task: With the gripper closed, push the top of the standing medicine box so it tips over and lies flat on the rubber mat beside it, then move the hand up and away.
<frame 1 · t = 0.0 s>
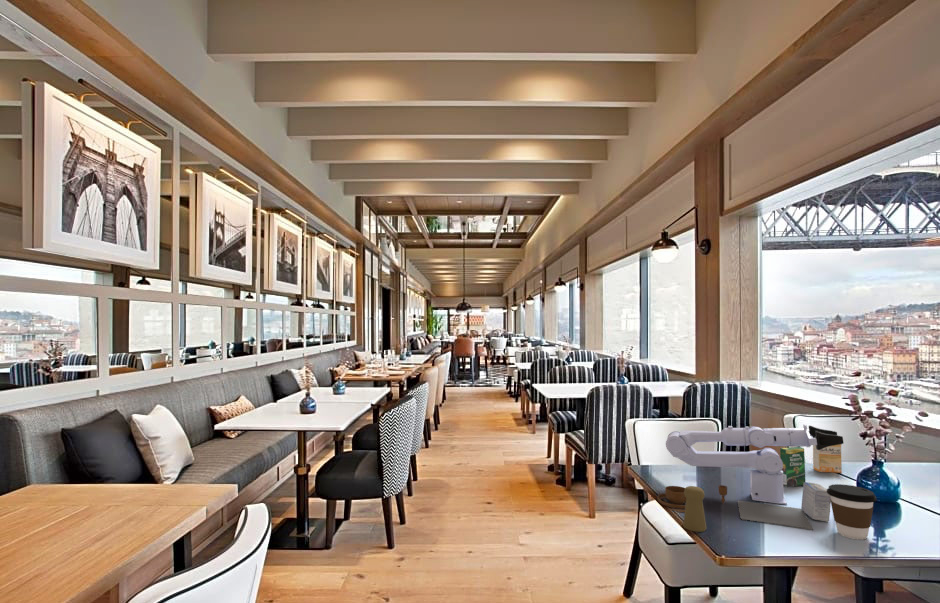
hand: (839, 437, 160), 22 cm above the table, tool horizontal, fingers open, 7 cm apart
coffee cup: (852, 535, 138), on the table
supplement box: (827, 471, 200), on the table
rubber mat: (772, 514, 153), on the table
coffee box: (793, 485, 182), on the table
cork: (694, 528, 143), on the table
medicine box: (814, 516, 151), on the table, touching rubber mat
place setting: (691, 507, 161), on the table
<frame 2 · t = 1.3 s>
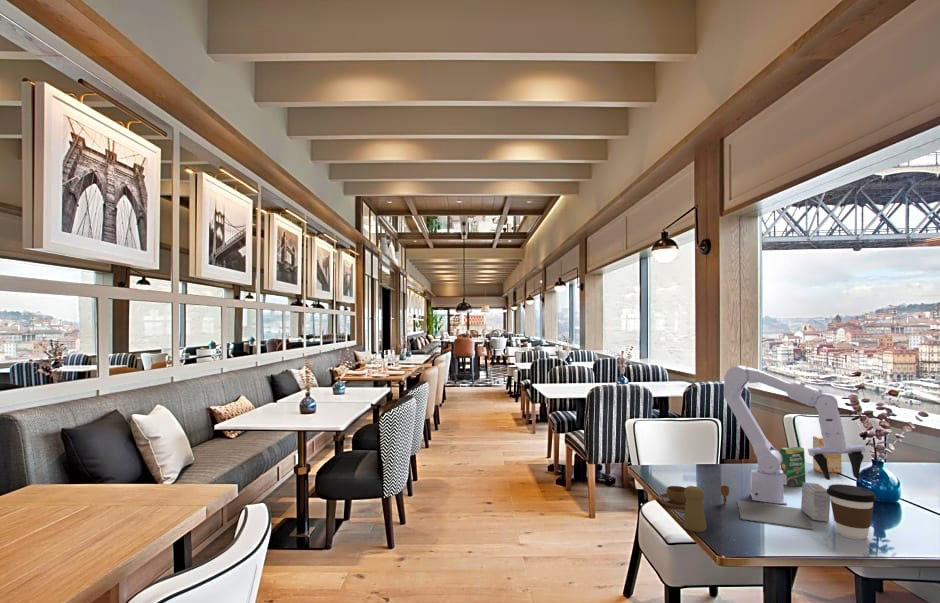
hand: (842, 478, 156), 10 cm above the table, tool pointing down, fingers open, 7 cm apart
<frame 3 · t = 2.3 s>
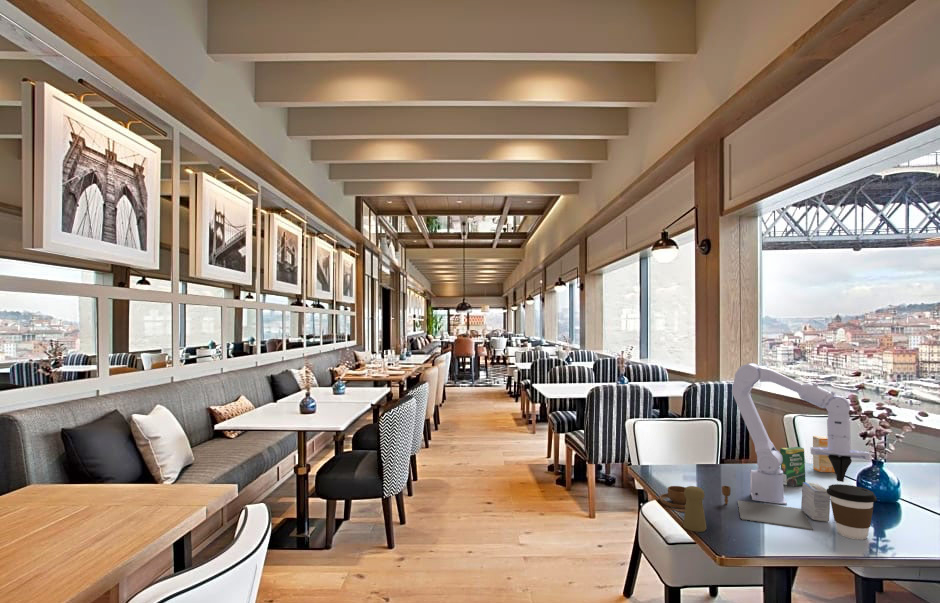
hand: (840, 480, 156), 9 cm above the table, tool pointing down, fingers closed
nothing on the table moved.
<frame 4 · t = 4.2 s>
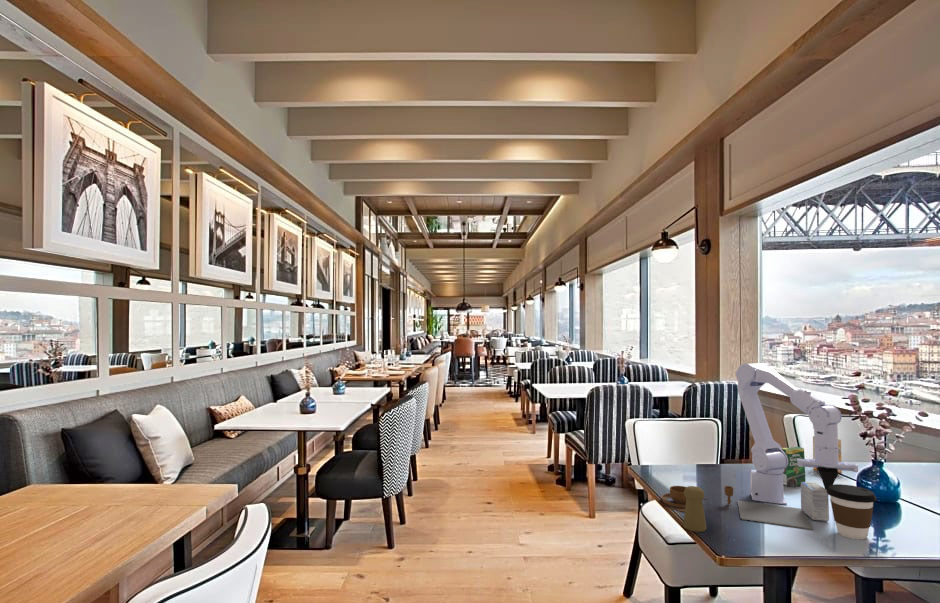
hand: (827, 494, 150), 7 cm above the table, tool pointing down, fingers closed
medicine box: (814, 516, 151), on the table, touching gripper, rubber mat
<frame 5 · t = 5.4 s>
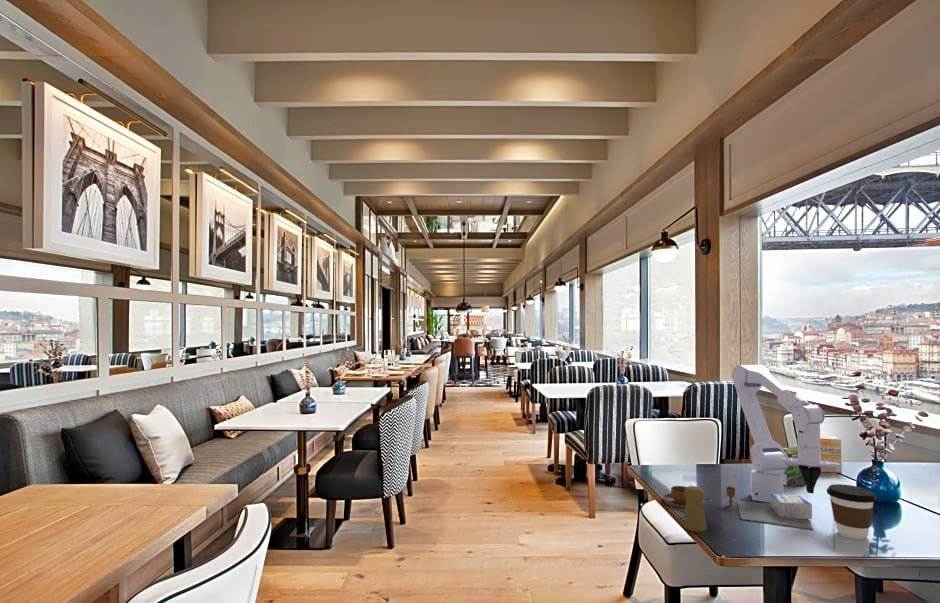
hand: (810, 492, 152), 7 cm above the table, tool pointing down, fingers closed
medicine box: (807, 507, 152), point 3 cm above the table, touching rubber mat
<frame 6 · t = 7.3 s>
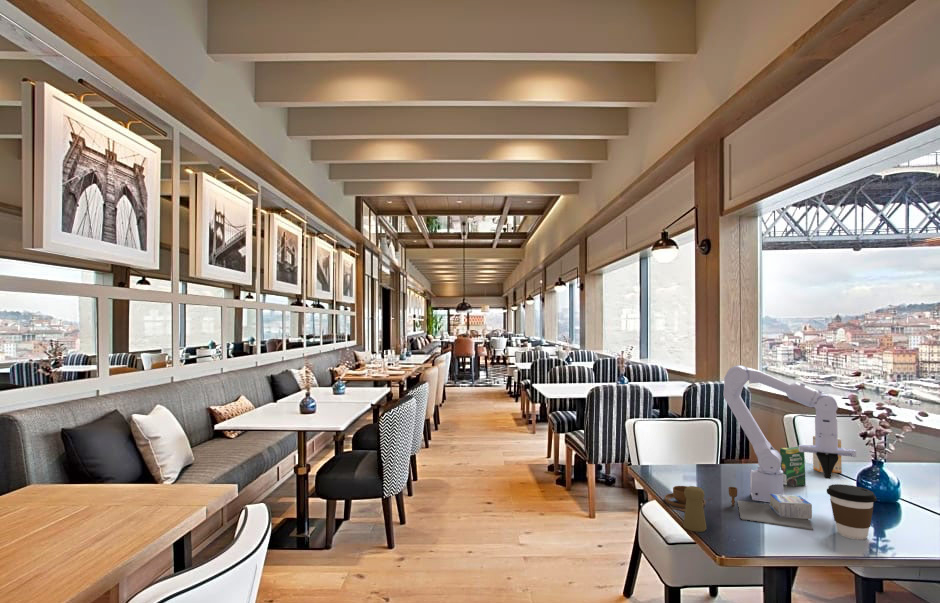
hand: (827, 477, 159), 9 cm above the table, tool pointing down, fingers closed
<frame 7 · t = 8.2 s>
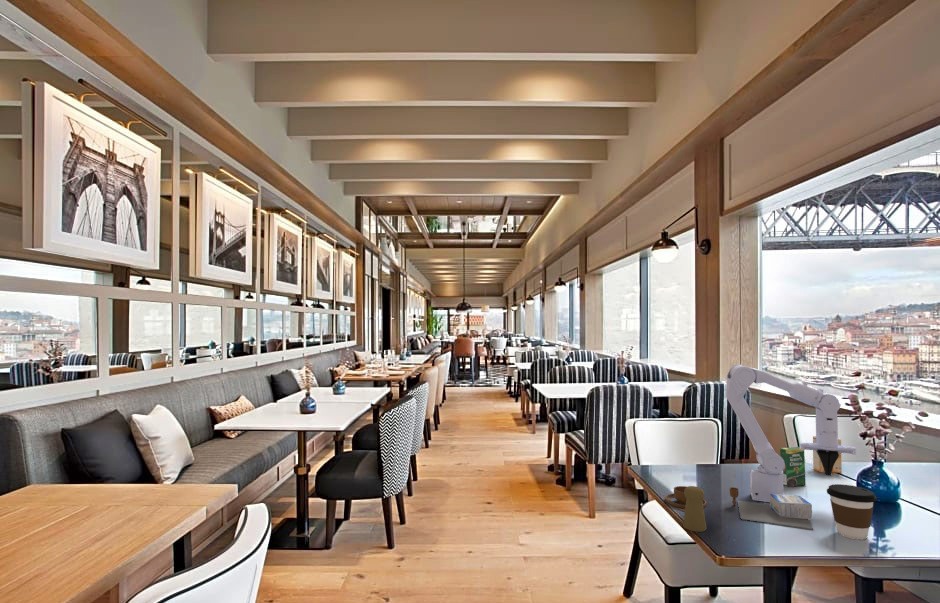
hand: (827, 474, 162), 9 cm above the table, tool pointing down, fingers closed
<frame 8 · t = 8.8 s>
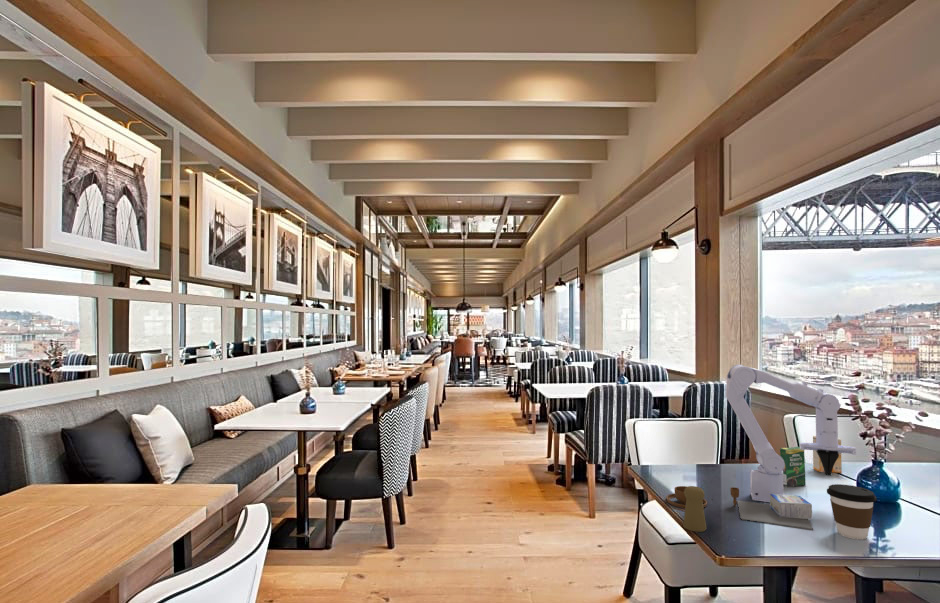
hand: (827, 474, 162), 9 cm above the table, tool pointing down, fingers closed
at the end: medicine box tilted 90°; medicine box touching rubber mat; medicine box inside the target area (2.1 cm from its centre), point 2.6 cm above the table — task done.
